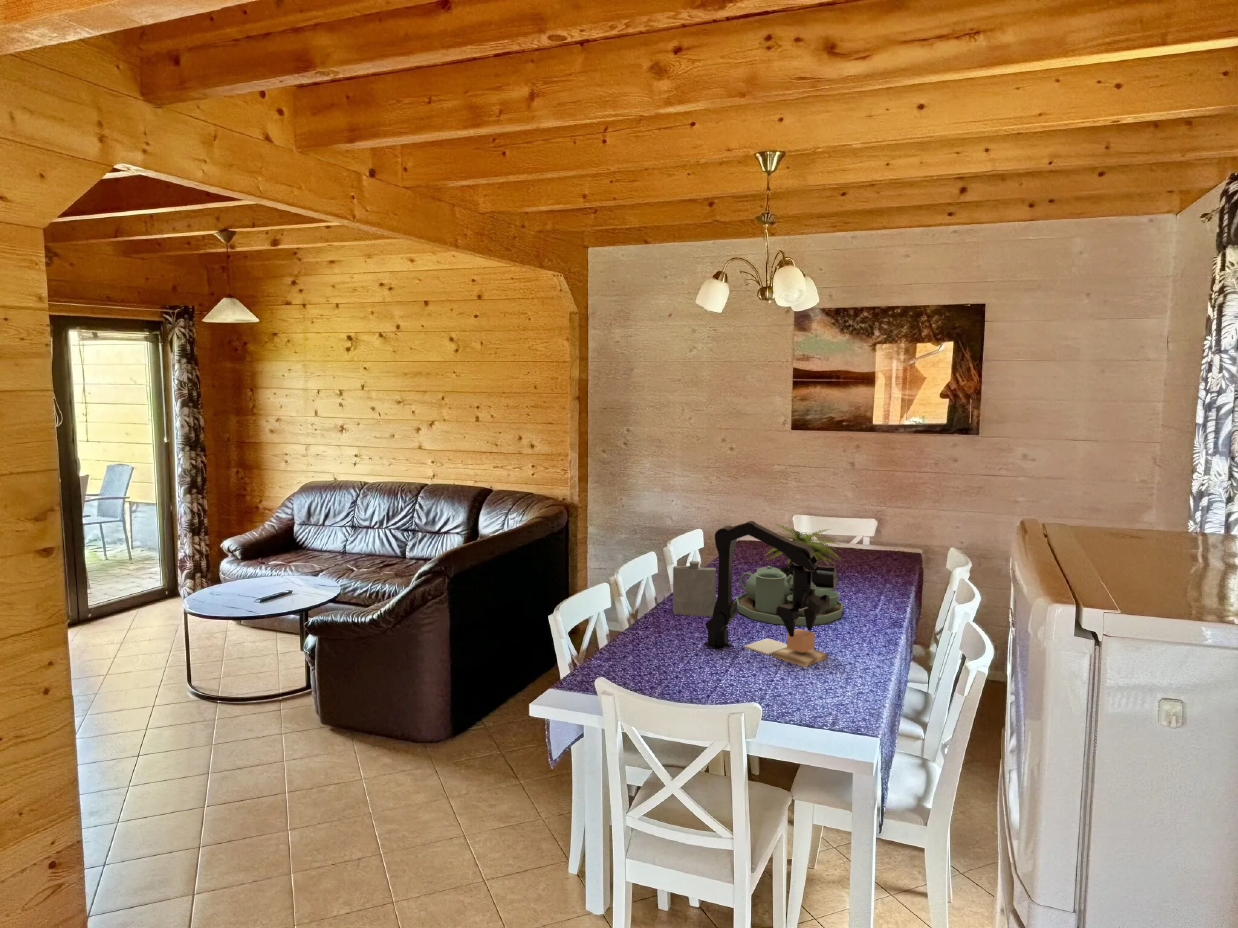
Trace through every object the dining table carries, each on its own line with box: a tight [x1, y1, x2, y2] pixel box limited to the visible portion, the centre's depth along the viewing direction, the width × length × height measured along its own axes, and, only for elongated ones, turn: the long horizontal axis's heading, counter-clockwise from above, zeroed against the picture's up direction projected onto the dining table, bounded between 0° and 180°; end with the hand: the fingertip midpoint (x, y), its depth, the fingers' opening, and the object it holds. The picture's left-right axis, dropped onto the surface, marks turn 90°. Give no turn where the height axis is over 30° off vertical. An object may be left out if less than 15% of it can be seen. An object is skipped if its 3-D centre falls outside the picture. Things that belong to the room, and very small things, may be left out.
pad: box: [743, 637, 787, 656], centre depth 272 cm, size 12×10×1 cm
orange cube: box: [786, 628, 816, 653], centre depth 261 cm, size 6×6×5 cm
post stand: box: [772, 648, 829, 668], centre depth 262 cm, size 12×12×8 cm
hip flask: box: [672, 560, 717, 617], centre depth 308 cm, size 16×4×20 cm, turn 76°
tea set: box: [735, 565, 844, 627], centre depth 313 cm, size 40×40×16 cm
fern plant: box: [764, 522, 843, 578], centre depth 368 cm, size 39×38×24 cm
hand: (800, 633), depth 261 cm, fingers open, 9 cm apart
